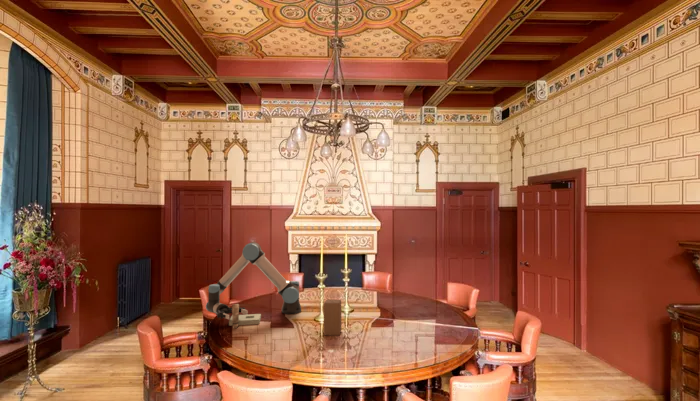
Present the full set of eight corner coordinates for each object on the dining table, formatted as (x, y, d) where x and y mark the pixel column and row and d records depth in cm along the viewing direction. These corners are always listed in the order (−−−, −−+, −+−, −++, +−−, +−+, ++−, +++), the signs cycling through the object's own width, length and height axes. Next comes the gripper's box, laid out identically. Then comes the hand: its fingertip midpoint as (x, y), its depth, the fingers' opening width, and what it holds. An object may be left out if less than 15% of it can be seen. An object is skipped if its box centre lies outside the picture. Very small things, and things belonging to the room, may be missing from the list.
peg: (239, 326, 235) (239, 303, 236) (238, 328, 231) (238, 305, 232) (232, 326, 235) (232, 304, 235) (231, 328, 231) (231, 305, 231)
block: (341, 330, 226) (341, 299, 226) (339, 336, 216) (339, 303, 216) (326, 330, 227) (326, 299, 227) (323, 335, 217) (323, 302, 217)
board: (260, 317, 254) (260, 313, 254) (259, 323, 241) (259, 319, 241) (232, 319, 251) (232, 315, 251) (228, 325, 237) (228, 321, 237)
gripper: (237, 310, 254) (254, 316, 241) (203, 318, 235) (220, 325, 222) (237, 300, 255) (254, 305, 241) (204, 307, 235) (220, 313, 222)
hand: (238, 314), depth 231 cm, fingers open, 13 cm apart
